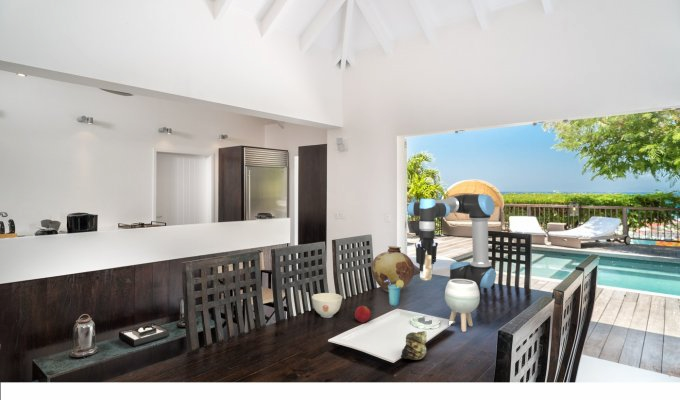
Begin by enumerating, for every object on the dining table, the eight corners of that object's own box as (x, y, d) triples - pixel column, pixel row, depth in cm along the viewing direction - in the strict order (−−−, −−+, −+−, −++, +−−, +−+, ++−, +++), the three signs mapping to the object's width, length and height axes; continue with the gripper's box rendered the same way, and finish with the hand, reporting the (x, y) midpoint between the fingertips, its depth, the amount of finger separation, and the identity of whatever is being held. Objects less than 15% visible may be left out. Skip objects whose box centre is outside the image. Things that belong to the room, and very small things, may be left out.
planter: (479, 324, 194) (479, 279, 193) (479, 335, 179) (480, 286, 178) (445, 320, 199) (446, 276, 199) (442, 331, 184) (443, 283, 183)
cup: (388, 307, 220) (388, 281, 220) (379, 304, 226) (379, 278, 226) (406, 304, 228) (406, 278, 227) (397, 301, 234) (397, 276, 234)
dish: (425, 318, 203) (425, 313, 203) (445, 326, 191) (445, 320, 191) (404, 322, 195) (404, 317, 195) (424, 331, 183) (424, 325, 183)
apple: (360, 325, 190) (360, 309, 190) (352, 320, 197) (352, 304, 197) (373, 323, 194) (373, 307, 193) (364, 318, 201) (365, 303, 201)
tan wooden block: (425, 278, 196) (426, 254, 195) (430, 279, 192) (431, 255, 192) (420, 279, 194) (421, 254, 194) (425, 280, 191) (426, 255, 191)
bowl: (347, 313, 208) (347, 295, 208) (333, 322, 194) (334, 302, 194) (320, 309, 215) (320, 291, 215) (305, 318, 200) (306, 298, 200)
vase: (384, 285, 274) (385, 242, 274) (420, 291, 258) (421, 246, 258) (362, 293, 251) (363, 246, 251) (401, 300, 235) (401, 251, 235)
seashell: (395, 352, 158) (395, 328, 158) (423, 352, 159) (423, 327, 159) (401, 364, 148) (402, 337, 147) (431, 363, 149) (431, 337, 148)
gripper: (433, 228, 200) (432, 274, 201) (408, 229, 192) (407, 277, 192) (444, 230, 194) (443, 277, 194) (419, 231, 185) (418, 280, 186)
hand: (425, 277), depth 193 cm, fingers closed on tan wooden block, 3 cm apart
